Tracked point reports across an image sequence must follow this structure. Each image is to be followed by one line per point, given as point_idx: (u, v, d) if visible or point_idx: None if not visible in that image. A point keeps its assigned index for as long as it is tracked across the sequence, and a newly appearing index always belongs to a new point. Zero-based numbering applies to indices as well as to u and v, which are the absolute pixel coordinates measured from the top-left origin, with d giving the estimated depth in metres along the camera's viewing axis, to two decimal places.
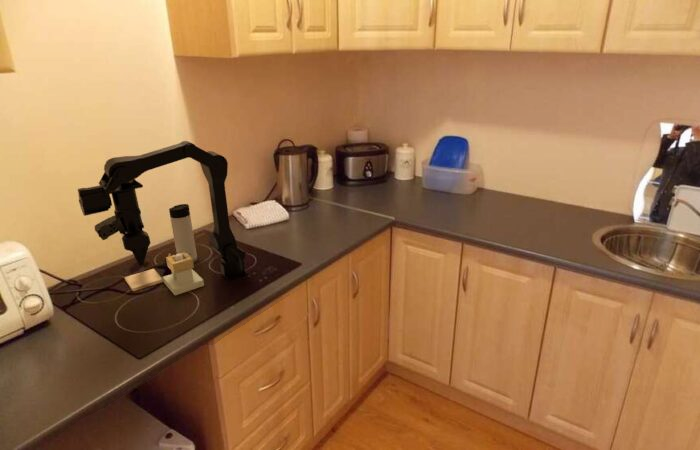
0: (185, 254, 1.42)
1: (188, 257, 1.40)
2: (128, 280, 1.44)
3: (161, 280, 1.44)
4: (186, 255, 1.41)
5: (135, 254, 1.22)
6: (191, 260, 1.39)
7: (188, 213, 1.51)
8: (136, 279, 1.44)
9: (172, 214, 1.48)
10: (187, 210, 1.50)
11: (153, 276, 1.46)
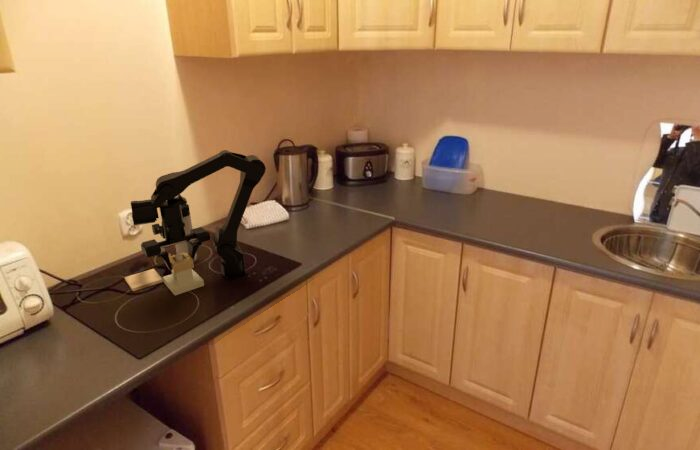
0: (185, 254, 1.42)
1: (188, 257, 1.40)
2: (128, 280, 1.44)
3: (161, 280, 1.44)
4: (186, 255, 1.41)
5: (162, 258, 1.37)
6: (191, 260, 1.39)
7: (188, 213, 1.51)
8: (136, 279, 1.44)
9: None
10: (187, 210, 1.50)
11: (153, 276, 1.46)
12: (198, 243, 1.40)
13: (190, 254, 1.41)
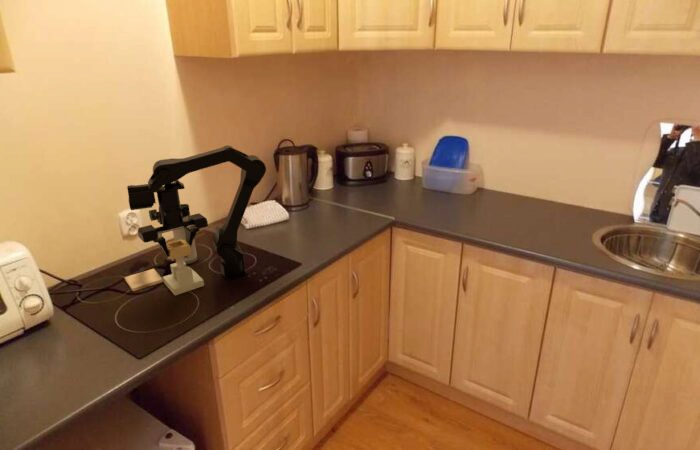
0: (183, 241, 1.40)
1: (185, 243, 1.38)
2: (128, 280, 1.44)
3: (161, 280, 1.44)
4: (183, 242, 1.39)
5: (159, 244, 1.35)
6: (189, 246, 1.37)
7: (188, 213, 1.51)
8: (136, 279, 1.44)
9: None
10: (187, 210, 1.50)
11: (153, 276, 1.46)
12: (196, 229, 1.38)
13: (188, 241, 1.39)
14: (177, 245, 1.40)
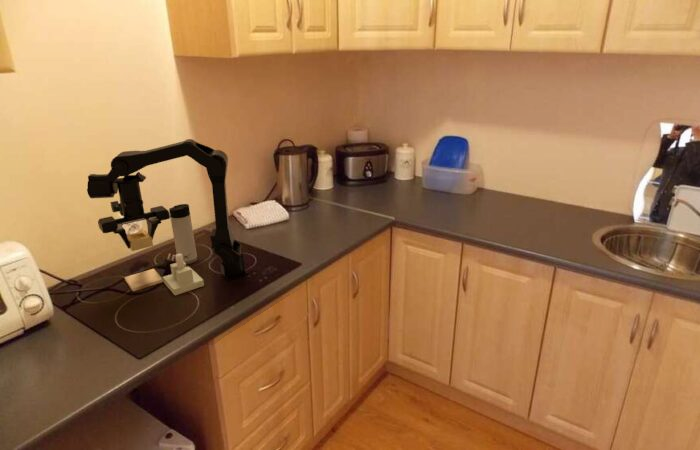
0: (145, 233, 1.41)
1: (147, 235, 1.39)
2: (128, 280, 1.44)
3: (161, 280, 1.44)
4: (145, 233, 1.40)
5: None
6: (150, 238, 1.38)
7: (188, 213, 1.51)
8: (136, 279, 1.44)
9: (173, 214, 1.48)
10: (187, 210, 1.50)
11: (153, 276, 1.46)
12: (157, 221, 1.39)
13: (149, 232, 1.40)
14: (139, 237, 1.41)
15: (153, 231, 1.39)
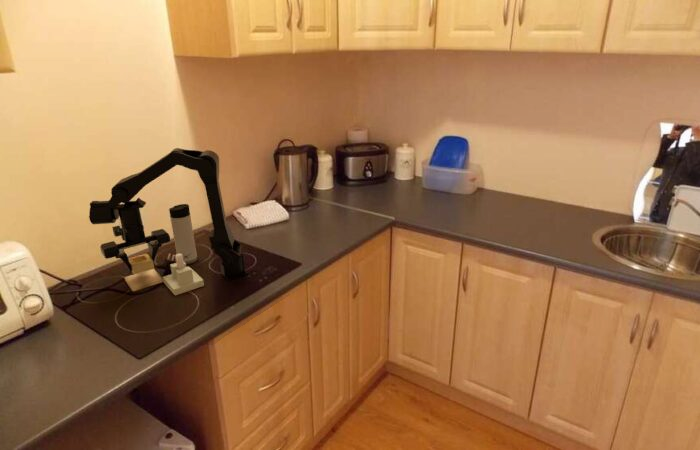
0: (146, 255, 1.44)
1: (148, 258, 1.42)
2: (128, 280, 1.44)
3: (161, 280, 1.44)
4: (147, 256, 1.44)
5: None
6: (151, 261, 1.42)
7: (188, 213, 1.51)
8: (136, 279, 1.44)
9: (173, 214, 1.48)
10: (187, 210, 1.50)
11: (153, 276, 1.46)
12: (158, 245, 1.42)
13: (150, 255, 1.43)
14: (141, 260, 1.44)
15: (154, 254, 1.43)
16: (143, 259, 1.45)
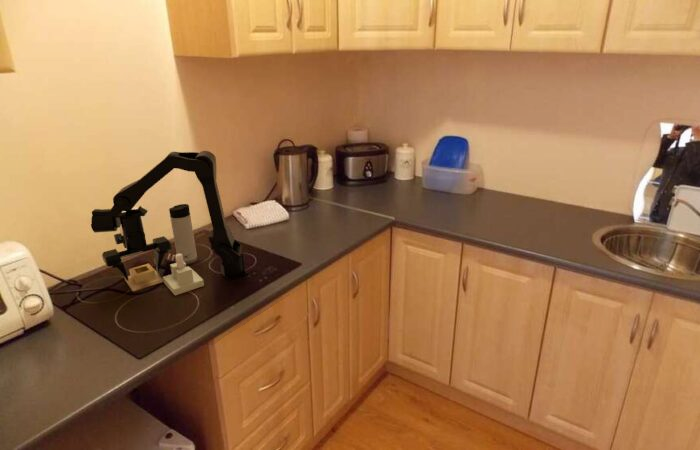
0: (148, 266, 1.46)
1: (150, 269, 1.44)
2: (128, 280, 1.44)
3: (161, 280, 1.44)
4: (149, 267, 1.45)
5: None
6: (153, 272, 1.43)
7: (188, 213, 1.51)
8: None
9: (173, 214, 1.48)
10: (187, 210, 1.50)
11: None
12: (164, 251, 1.44)
13: (157, 262, 1.45)
14: (143, 270, 1.46)
15: (160, 260, 1.44)
16: (145, 269, 1.46)
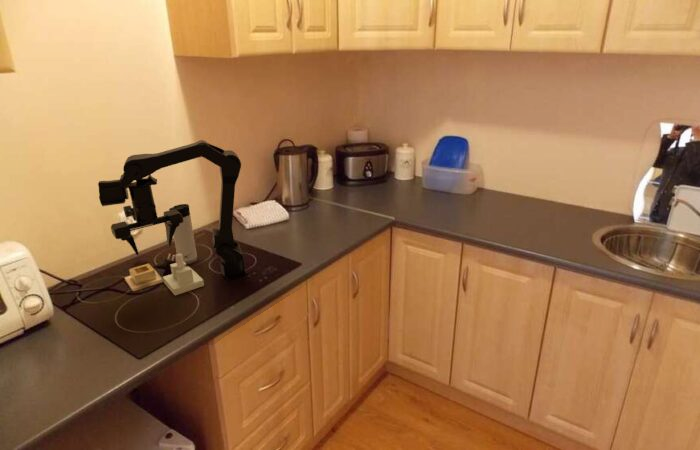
0: (148, 266, 1.46)
1: (150, 269, 1.44)
2: (128, 280, 1.44)
3: (161, 280, 1.44)
4: (149, 267, 1.45)
5: None
6: (153, 272, 1.43)
7: (188, 213, 1.51)
8: None
9: None
10: (187, 210, 1.50)
11: None
12: (176, 224, 1.36)
13: (168, 236, 1.38)
14: (143, 270, 1.46)
15: (172, 234, 1.37)
16: (145, 269, 1.46)
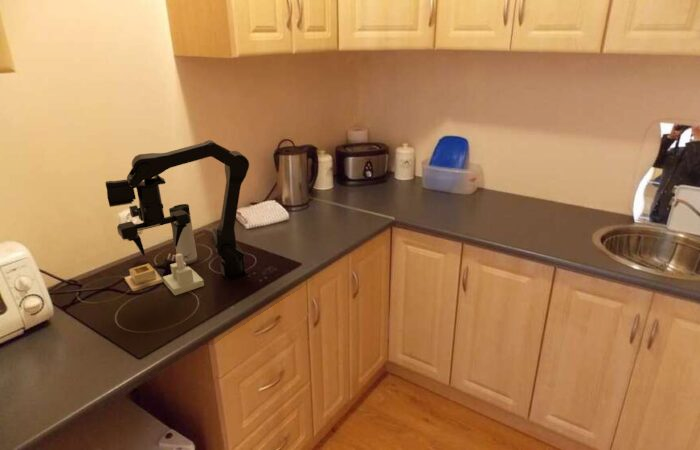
0: (148, 266, 1.46)
1: (150, 269, 1.44)
2: (128, 280, 1.44)
3: (161, 280, 1.44)
4: (149, 267, 1.45)
5: None
6: (153, 272, 1.43)
7: (188, 213, 1.51)
8: None
9: None
10: (187, 210, 1.50)
11: None
12: None
13: (174, 236, 1.36)
14: (143, 270, 1.46)
15: (178, 235, 1.35)
16: (145, 269, 1.46)
